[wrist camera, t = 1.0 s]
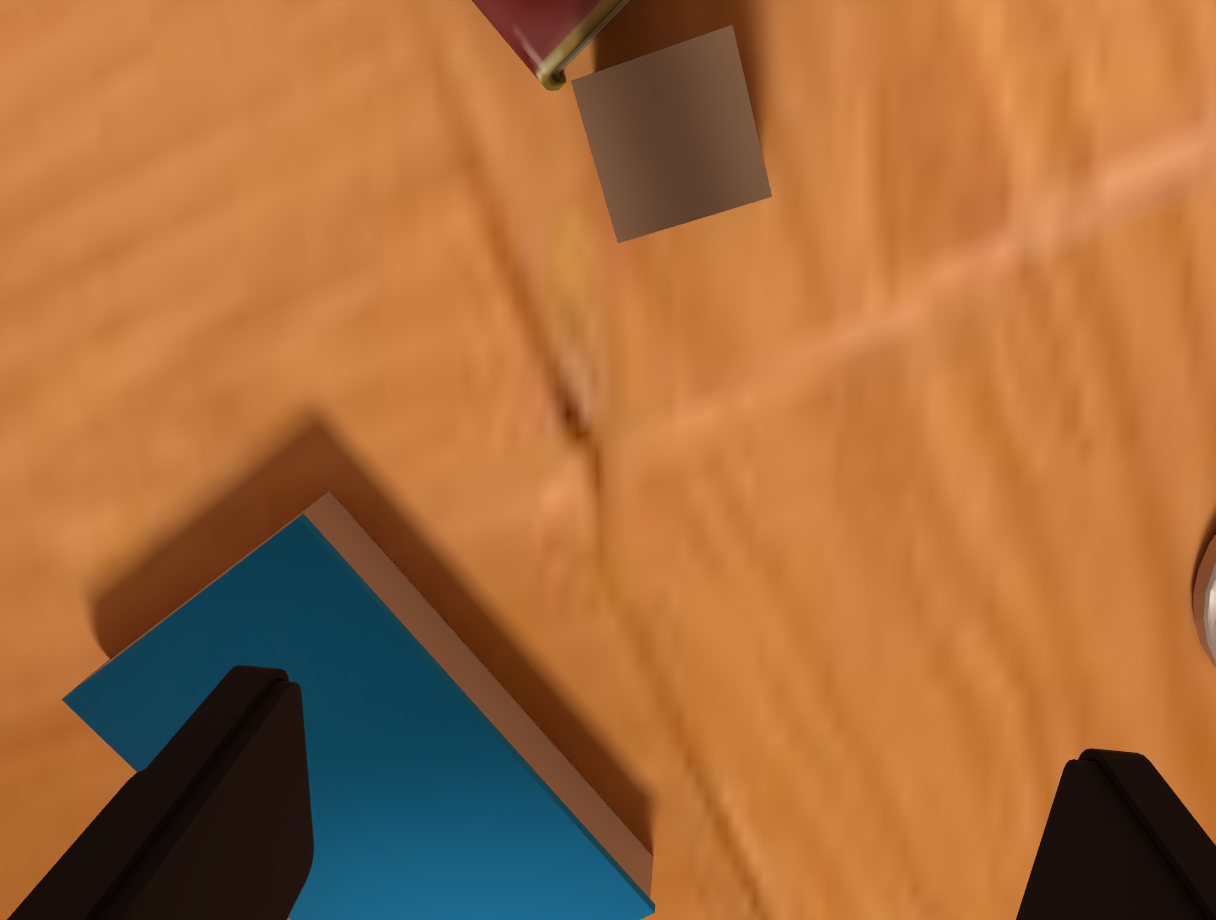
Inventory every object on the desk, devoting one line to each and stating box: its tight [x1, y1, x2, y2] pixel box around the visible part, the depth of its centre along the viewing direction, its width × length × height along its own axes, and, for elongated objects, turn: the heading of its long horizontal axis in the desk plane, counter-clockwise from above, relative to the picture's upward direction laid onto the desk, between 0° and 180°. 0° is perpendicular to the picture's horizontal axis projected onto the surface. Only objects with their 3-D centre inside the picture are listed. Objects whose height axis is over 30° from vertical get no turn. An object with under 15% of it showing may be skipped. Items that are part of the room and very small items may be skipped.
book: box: [62, 491, 655, 920], centre depth 41 cm, size 17×4×25 cm
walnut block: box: [571, 25, 772, 243], centre depth 28 cm, size 5×5×6 cm
